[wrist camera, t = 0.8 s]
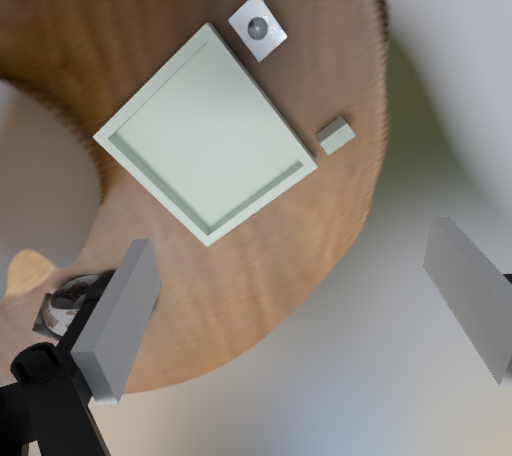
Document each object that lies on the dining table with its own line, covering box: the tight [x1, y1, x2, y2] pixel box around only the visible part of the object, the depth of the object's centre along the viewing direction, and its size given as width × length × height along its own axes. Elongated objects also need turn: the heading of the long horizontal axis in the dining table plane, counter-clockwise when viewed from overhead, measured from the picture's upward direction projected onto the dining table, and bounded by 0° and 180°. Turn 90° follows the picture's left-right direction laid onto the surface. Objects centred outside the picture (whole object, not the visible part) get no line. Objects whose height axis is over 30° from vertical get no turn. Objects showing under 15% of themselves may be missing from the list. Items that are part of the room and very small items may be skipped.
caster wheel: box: [32, 275, 151, 341], centre depth 45 cm, size 7×11×10 cm
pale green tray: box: [93, 22, 356, 247], centre depth 35 cm, size 16×20×3 cm
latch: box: [228, 0, 287, 62], centre depth 30 cm, size 4×3×4 cm
